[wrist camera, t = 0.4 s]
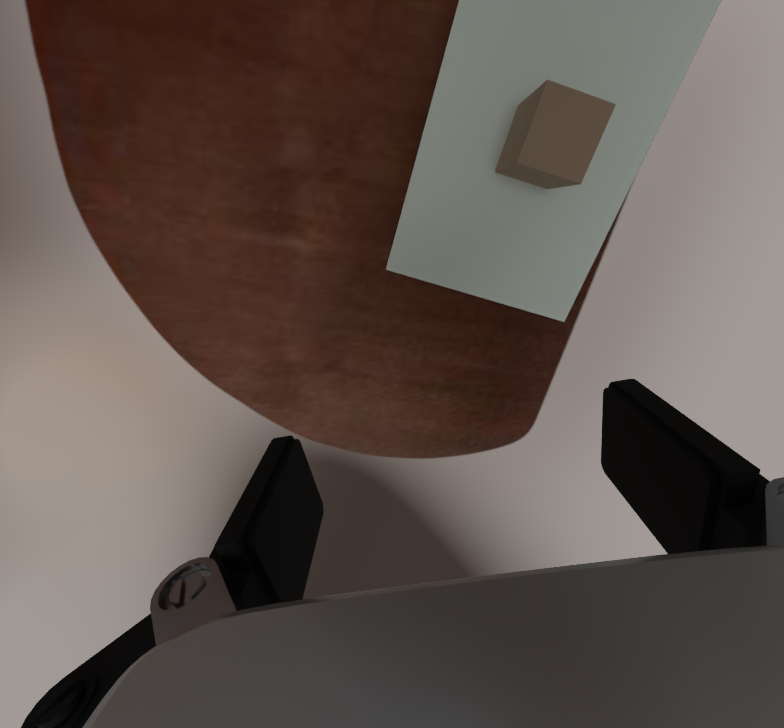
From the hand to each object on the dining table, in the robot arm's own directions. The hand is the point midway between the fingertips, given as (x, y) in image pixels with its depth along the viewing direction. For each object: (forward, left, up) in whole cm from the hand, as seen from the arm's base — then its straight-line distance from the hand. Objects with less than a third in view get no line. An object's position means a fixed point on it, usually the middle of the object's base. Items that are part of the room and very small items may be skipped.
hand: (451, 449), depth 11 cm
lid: (-12, +4, -20) cm, 24 cm away
